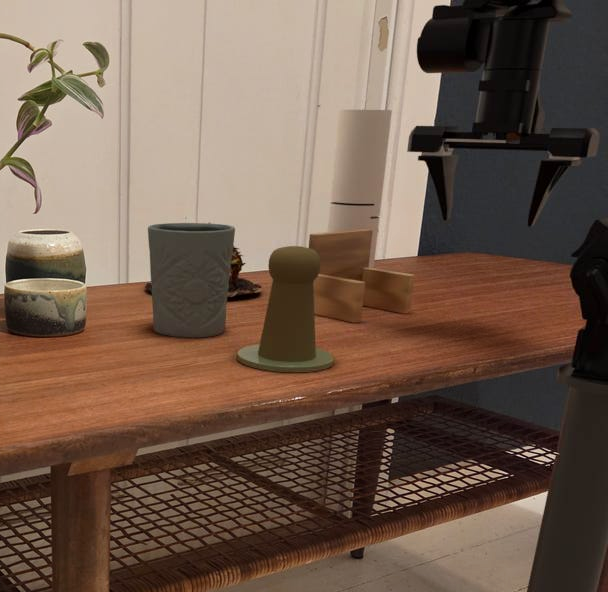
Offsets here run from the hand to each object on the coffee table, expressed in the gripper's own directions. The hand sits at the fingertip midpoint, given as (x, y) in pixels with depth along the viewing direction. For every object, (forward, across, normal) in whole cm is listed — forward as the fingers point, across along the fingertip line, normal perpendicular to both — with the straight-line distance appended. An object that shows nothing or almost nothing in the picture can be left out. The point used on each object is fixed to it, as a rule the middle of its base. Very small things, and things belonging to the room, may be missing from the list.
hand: (487, 223), depth 99 cm
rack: (+13, +16, -5) cm, 22 cm away
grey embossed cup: (+13, +28, +18) cm, 36 cm away
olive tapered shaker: (+13, +12, +24) cm, 30 cm away
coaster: (+13, +12, +24) cm, 30 cm away
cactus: (+13, +40, -5) cm, 42 cm away
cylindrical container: (+13, +24, -20) cm, 34 cm away
